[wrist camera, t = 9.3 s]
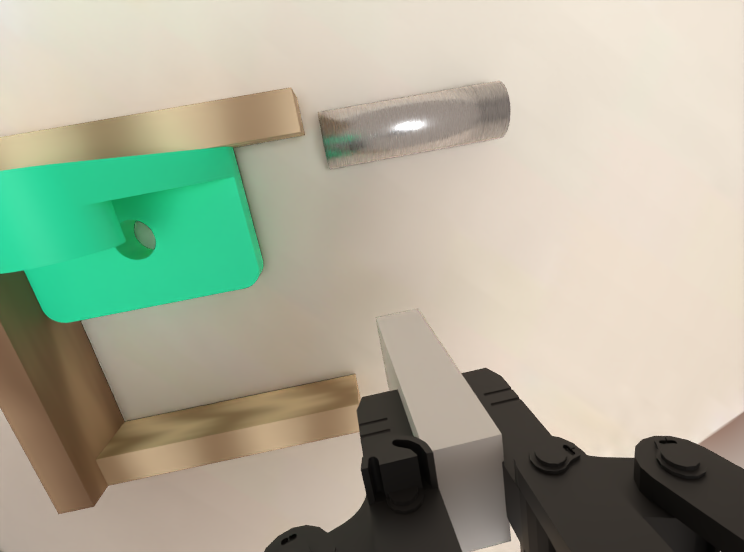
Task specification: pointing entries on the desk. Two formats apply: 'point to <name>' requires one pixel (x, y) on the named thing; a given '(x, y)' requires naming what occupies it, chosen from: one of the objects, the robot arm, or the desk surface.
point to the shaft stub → (415, 124)
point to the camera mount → (128, 231)
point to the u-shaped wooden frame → (78, 361)
